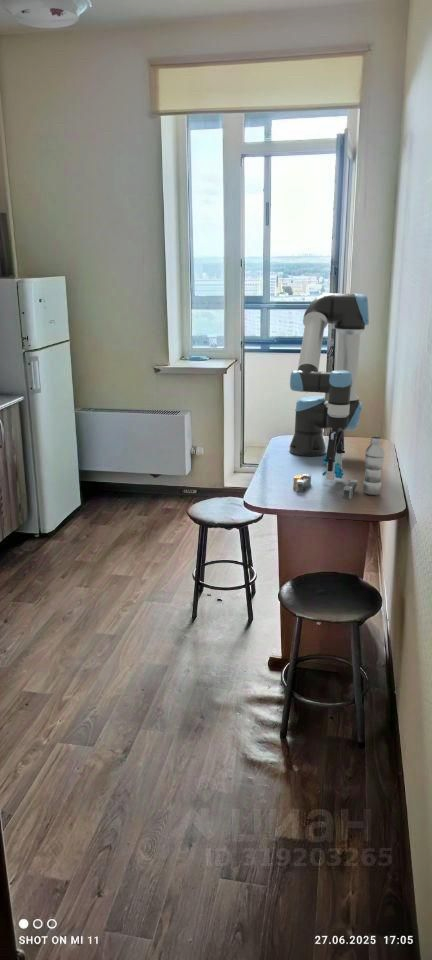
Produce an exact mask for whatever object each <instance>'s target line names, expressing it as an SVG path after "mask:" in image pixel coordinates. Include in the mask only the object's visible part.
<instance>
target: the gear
mask: <svg viewBox="0 0 432 960" xmlns="http://www.w3.org/2000/svg"><path fill="white" fill-rule="evenodd" d="M326 455H327V454H326ZM326 455H325V454H324V456H323V458H322V461H323V464H324V465H325V466H326V469H327V462H325V459H326ZM334 462H335V461H334ZM339 465H340V464H339V462H338V463H335V471H334V478H337V479H342V478H343V476H344V473H343V469H342V468H339ZM321 475H322V476H326V470H325V471H323V472H322V474H321Z"/></svg>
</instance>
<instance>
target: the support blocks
mask: <svg viewBox="0 0 432 960" xmlns="http://www.w3.org/2000/svg"><path fill="white" fill-rule="evenodd" d="M311 484H312V474H311V473H303V474H302V475H301V474H296V475H295V476H294V477H293V486H292V489H295V492H297V493H304V492H306V490H307V489H308V488H309V487H310V486H311ZM357 491H358V480H357V479H356V480H355V479H349V480H348V484H347V485H344V487H343V491H342V492H343V495H342V499H345V500H351V499H352V498H353V494H355V493H357Z"/></svg>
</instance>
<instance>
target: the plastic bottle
mask: <svg viewBox="0 0 432 960" xmlns="http://www.w3.org/2000/svg"><path fill="white" fill-rule="evenodd" d="M382 441H383V438H382V437H380V436H371V437H370V442H369V443H370V444H369V446H368V447H367V448H366V449H365V455H364V456H365V473H364V479H363V482H362V492H363V493H365V494H367V495H370V496H378V495H379V494H380V493H381V492H382V488H383V486H382V471H383V470H382V468H383V462H384V458H385V454H386V453H385V450H384V448H383V447H382V445H381V444H382Z"/></svg>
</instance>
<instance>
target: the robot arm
mask: <svg viewBox="0 0 432 960" xmlns="http://www.w3.org/2000/svg"><path fill="white" fill-rule="evenodd" d="M368 301H369V299H368V296H367V295H366V294H360V293H357V292H356V293H339V292H338V293H334V292H333V293H331V292H329V293H328V292H327V293H322V294H321V295H319V296H317V297H316V298H314V299H313V300H312V301H311V302H310V304H309V305H308V306H307V308H306V310H305V311H304V314H303V319H302V324H303V326H304V328H303V334H302V335H303V336H302V341H301V348H300V354H299V360H298V366H297V369H296V370H291V373H290V377H289V378H290V379H289V387H290V390H291V391H293V392H300V393H305V392H306V393H319V394H322V393H323V394H328V397H327V398H328V399H327V400H326V398H325V396H321V395H310V396H304V397H300V398H298V399H297V401H296V403H295V404H296V405H295V410H294V411H295V421H294V433H293V436H292V438H291V442H290V444H289V452H290V453H291V454H294V455H297V456H303V457H319V456H323V455H325V454H326V459H325V462H327V465H326V467H327V468H326V470H325V471H326V475H325V480H329V481H330V480H331V481H334V480H335V474H334V471H335V463H338V462H339V464H340V465H339V468H341V469H342V468H343V455H344V454H345V453H346V450H345V431H354V430H356V429H357V428H358V426H359V422H360V417H361V413H362V407H363V403H362V402H361V401H360V397H359V396H358V394H356V393H357V380H358V369H359V354H360V344H361V343H360V341H361V334H362V333H363V332H364V331H365V329H366V327H365V326H368V325H369V324H370V321H369V320H370V316H369V313H370V312H369V302H368ZM328 324H330V325H332V324H333V325H334V330H336V332H337V333H338V335H337V348H336V360H335V361H336V363H335V365H336V366H335V370H332V371H319V367H320V360H321V353H322V347H323V339H324V332H325V329H326V328H327V327H328ZM325 429H326V430H331V431H330V432H329V434H328V441H327V447H326V443H325V439H324V435H323V432H324V431H323V430H325ZM334 461H335V462H334Z"/></svg>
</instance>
